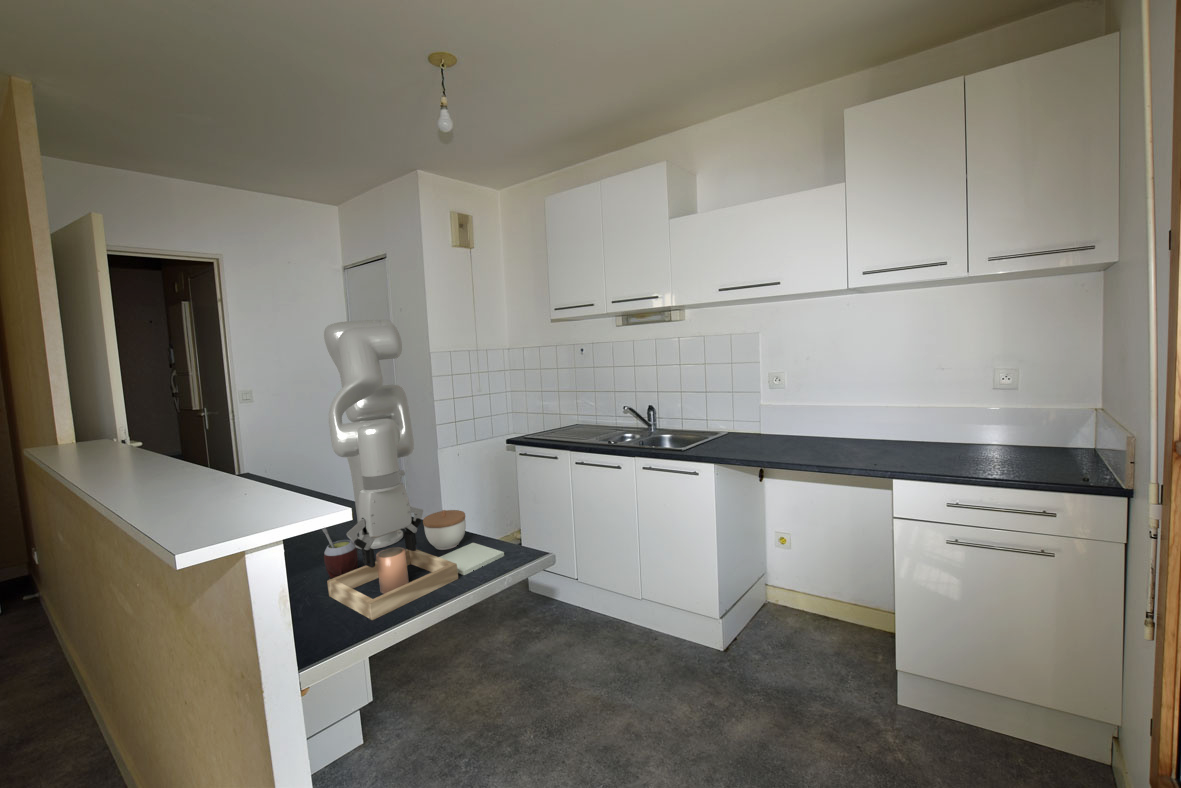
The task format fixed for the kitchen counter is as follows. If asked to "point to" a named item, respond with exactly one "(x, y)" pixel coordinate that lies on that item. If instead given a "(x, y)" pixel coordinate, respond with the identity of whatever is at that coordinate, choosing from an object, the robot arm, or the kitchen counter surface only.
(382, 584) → the terracotta pot
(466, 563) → the sage tile
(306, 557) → the kitchen counter surface
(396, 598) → the frame
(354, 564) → the mate gourd
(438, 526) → the lidded jar
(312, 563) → the kitchen counter surface
